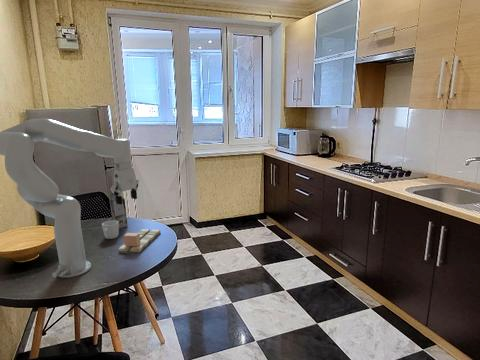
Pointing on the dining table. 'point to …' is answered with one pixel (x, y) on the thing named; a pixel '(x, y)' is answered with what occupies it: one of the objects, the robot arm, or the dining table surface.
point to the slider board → (141, 241)
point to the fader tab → (132, 239)
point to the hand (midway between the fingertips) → (127, 201)
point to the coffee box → (118, 212)
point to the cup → (110, 229)
